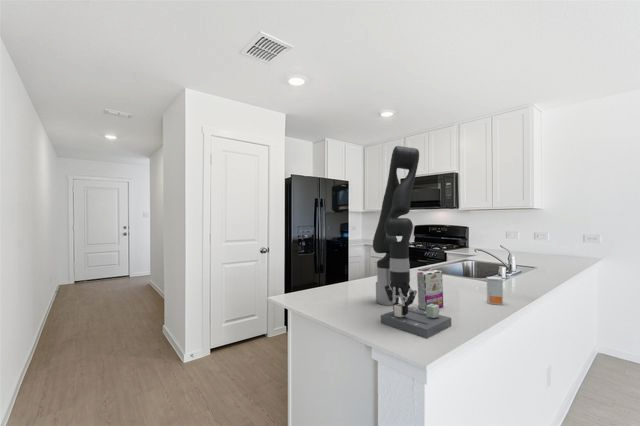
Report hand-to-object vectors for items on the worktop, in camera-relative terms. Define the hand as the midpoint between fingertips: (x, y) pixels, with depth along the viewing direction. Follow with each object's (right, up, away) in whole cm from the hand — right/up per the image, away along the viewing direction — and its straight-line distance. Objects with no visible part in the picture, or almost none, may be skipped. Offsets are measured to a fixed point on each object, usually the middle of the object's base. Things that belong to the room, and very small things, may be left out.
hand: (400, 313), depth 117 cm
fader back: (+12, 0, -2) cm, 12 cm away
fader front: (0, -1, 0) cm, 1 cm away
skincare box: (+51, -3, +24) cm, 56 cm away
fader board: (+6, -4, 0) cm, 7 cm away
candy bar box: (+19, -4, +20) cm, 28 cm away
